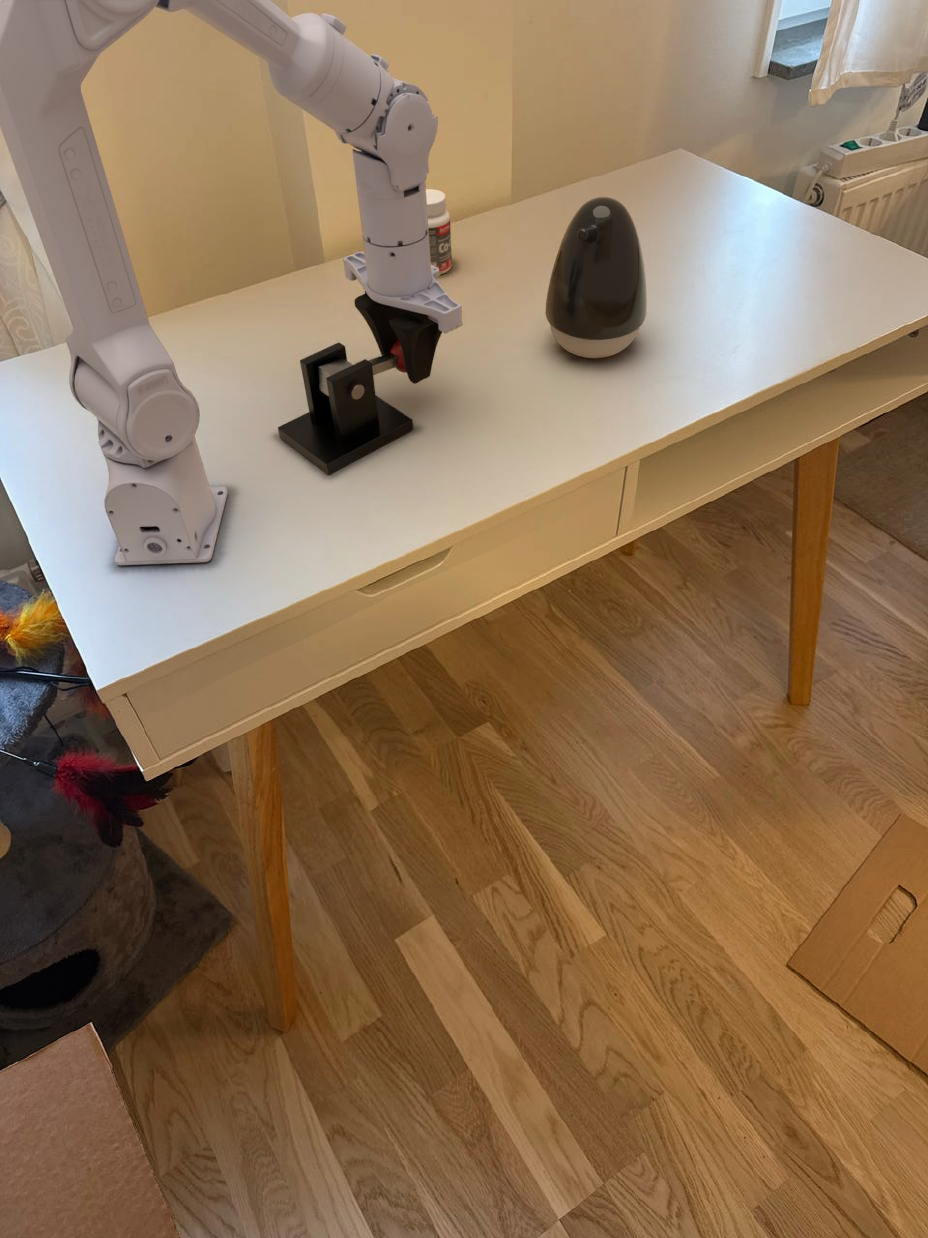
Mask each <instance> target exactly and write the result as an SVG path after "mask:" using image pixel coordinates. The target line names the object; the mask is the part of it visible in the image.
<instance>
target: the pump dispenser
mask: <svg viewBox="0 0 928 1238" xmlns="http://www.w3.org/2000/svg"><path fill="white" fill-rule="evenodd" d="M558 248H559V249H558V251H557V254H556V256H555V260H554V263H553V267H552V270H551V275H550V279H549V283H548V289H547V294H546V300H545V317H546V320H547V322H548V323H549V327H550V331H551V333H552V335H553V337H554V339H555V340H556V342H557V343H558V344H559V345H560V346H561V347H562V348H563V349H564V350H566V351H567V352H569V353H570V354H573V355H575V356H578V357H582V358H586V359H602V358H607V357H612V356H614V355H616V354H619V353H620V352H623V350H625V349H626V348H627V347H628V346H629V345H631V343H632V342H633V340H635V338H636V336H637V335H638V333H639V330H640V328H641V326H642V325H643V324H644V322H645V320H646V317H647V307H648V297H647V295H648V292H647V277H646V269H645V261H644V256H643V250H642V245H641V240H640V237H639V234H638V231H637V227H636V224H635V222H634V219H633V218H632V216H631V214H630V212H629V210H628V209H627V208H626V206H625V205H624V204H623V203H622V202H620V201H619V200H617V199H615V198H612V197H609V196H598V197H594V198H591V199H590V200H588V201H586V202H584V203H583V204H582V205H581V206H580V207H579V209H578V210H577V211H576V212H575V214H574V215H573V217H572V219H571V220H570V222H569V224H568V226H567V228H566V229H565V233H564V234H563V237H562V240H561V242H560V245H559V247H558Z"/></svg>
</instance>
